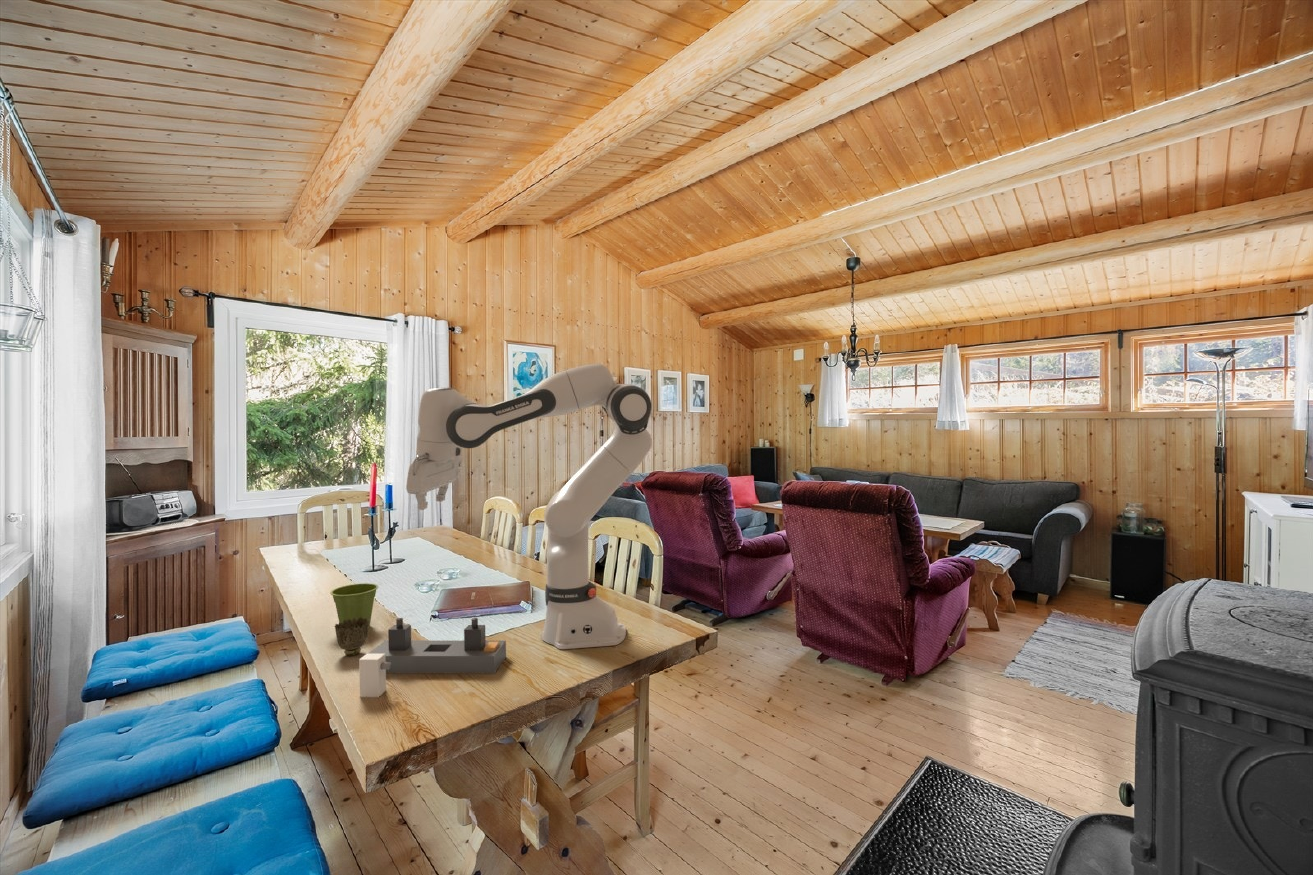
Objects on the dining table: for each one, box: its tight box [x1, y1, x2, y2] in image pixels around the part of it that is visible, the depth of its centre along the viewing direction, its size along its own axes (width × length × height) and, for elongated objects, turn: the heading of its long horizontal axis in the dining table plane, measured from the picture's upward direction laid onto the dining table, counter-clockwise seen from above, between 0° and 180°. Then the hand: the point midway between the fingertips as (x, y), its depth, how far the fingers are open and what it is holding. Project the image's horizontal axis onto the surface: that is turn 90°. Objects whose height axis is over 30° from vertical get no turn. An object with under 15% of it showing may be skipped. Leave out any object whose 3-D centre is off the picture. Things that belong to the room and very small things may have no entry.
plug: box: [358, 653, 391, 698], centre depth 118 cm, size 6×3×8 cm, turn 89°
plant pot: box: [330, 582, 379, 628], centre depth 155 cm, size 12×12×11 cm
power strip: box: [367, 617, 507, 674], centre depth 131 cm, size 30×9×11 cm, turn 89°
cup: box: [334, 617, 369, 657], centre depth 138 cm, size 8×7×8 cm
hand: (431, 504), depth 140 cm, fingers open, 8 cm apart
